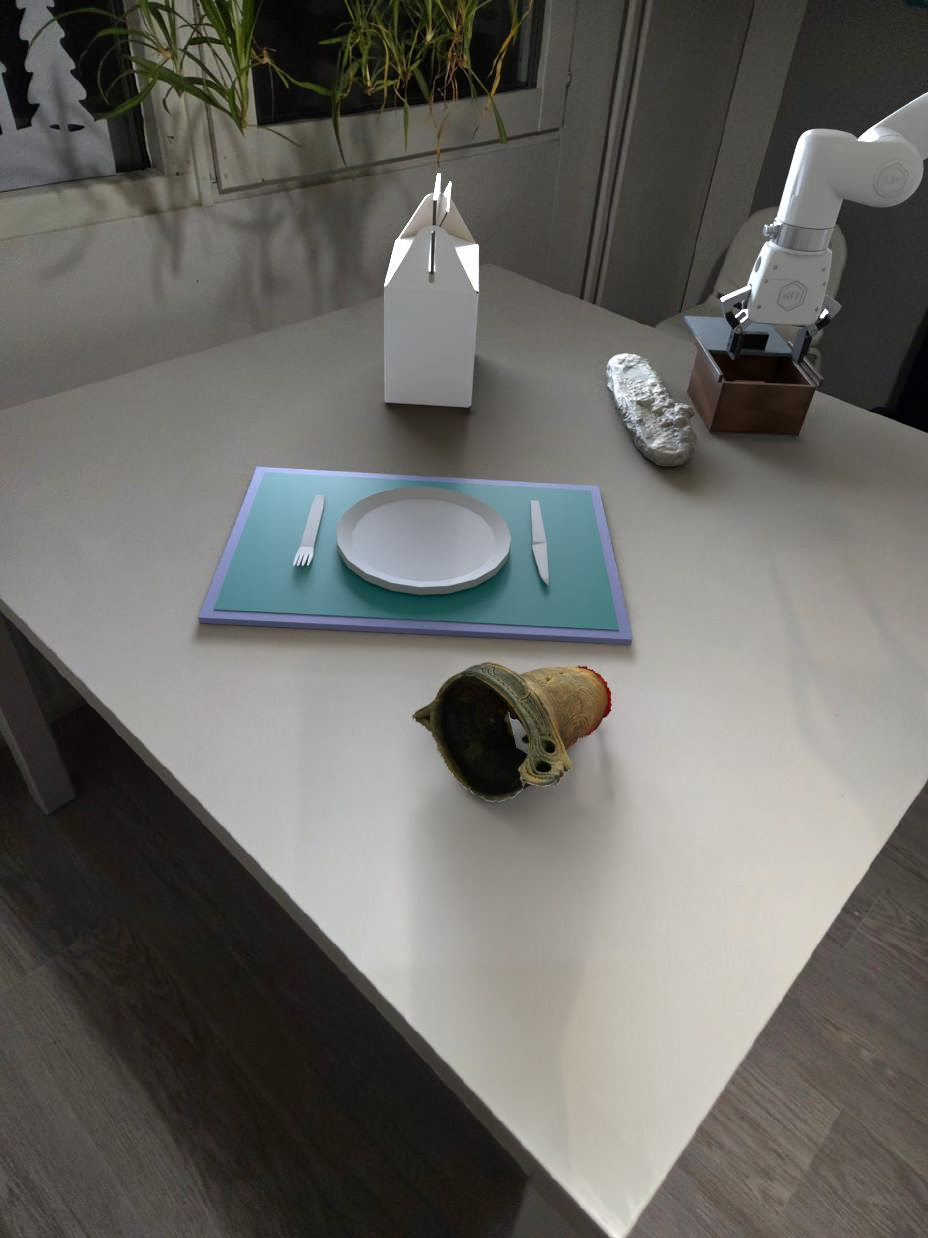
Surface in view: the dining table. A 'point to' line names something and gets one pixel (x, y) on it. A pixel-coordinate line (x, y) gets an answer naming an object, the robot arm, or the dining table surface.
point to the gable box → (431, 308)
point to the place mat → (420, 558)
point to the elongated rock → (650, 411)
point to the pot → (482, 731)
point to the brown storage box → (752, 392)
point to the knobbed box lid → (755, 342)
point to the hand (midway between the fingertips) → (764, 357)
